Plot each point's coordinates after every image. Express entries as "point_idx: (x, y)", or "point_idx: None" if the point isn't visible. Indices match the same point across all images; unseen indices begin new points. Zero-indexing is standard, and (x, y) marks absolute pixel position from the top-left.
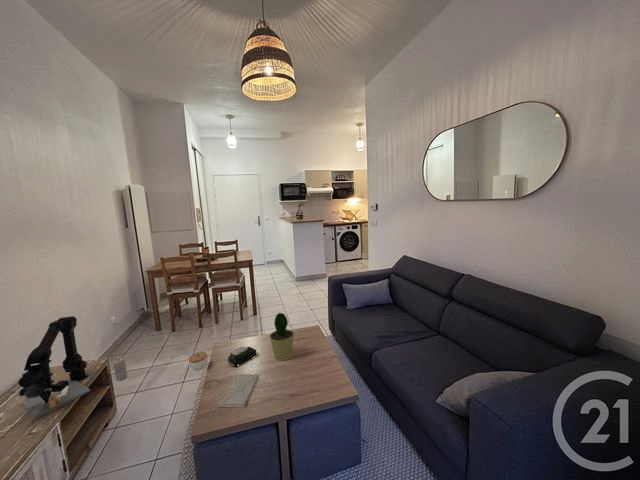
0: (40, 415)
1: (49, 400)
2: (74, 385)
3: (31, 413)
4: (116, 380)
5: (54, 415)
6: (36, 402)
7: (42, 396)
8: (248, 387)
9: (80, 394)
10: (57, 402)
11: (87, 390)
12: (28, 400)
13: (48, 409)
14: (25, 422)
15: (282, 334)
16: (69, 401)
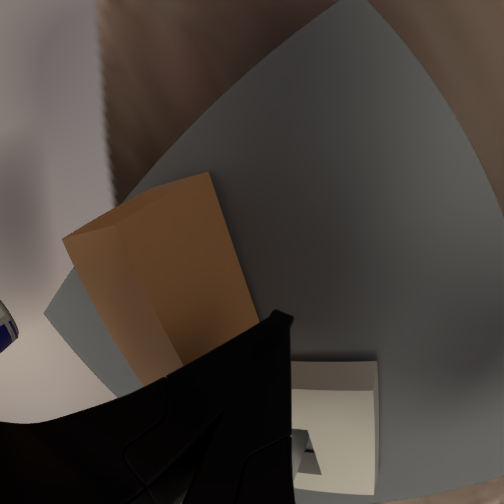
0: (302, 34)
1: (139, 284)
2: None
3: (496, 203)
4: (5, 312)
5: (116, 8)
6: (455, 432)
7: (208, 492)
8: None
9: (58, 290)
10: None
11: (51, 315)
12: (500, 470)
13: (226, 147)
14: (488, 2)
15: None
16: None
